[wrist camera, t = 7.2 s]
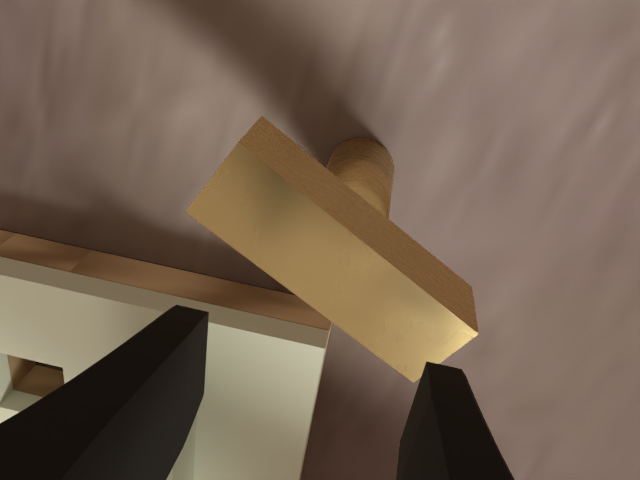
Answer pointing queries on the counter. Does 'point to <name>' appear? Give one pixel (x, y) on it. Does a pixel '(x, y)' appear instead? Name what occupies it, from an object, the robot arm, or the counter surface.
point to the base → (150, 278)
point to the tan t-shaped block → (339, 244)
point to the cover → (220, 375)
